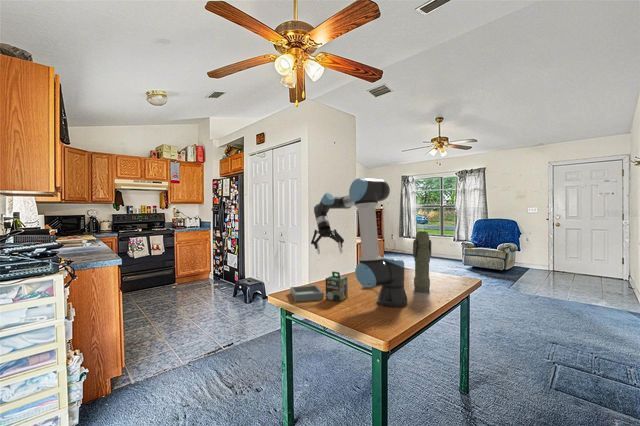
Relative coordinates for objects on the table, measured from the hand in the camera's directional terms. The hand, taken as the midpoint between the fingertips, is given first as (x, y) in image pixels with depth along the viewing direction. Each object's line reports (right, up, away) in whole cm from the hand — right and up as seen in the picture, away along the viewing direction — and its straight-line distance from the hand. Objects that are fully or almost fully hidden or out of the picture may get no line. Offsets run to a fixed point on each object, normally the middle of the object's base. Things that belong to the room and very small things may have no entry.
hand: (330, 252), depth 169 cm
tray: (-14, -23, -6) cm, 28 cm away
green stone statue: (+55, -23, +5) cm, 60 cm away
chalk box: (+3, -24, -10) cm, 26 cm away
